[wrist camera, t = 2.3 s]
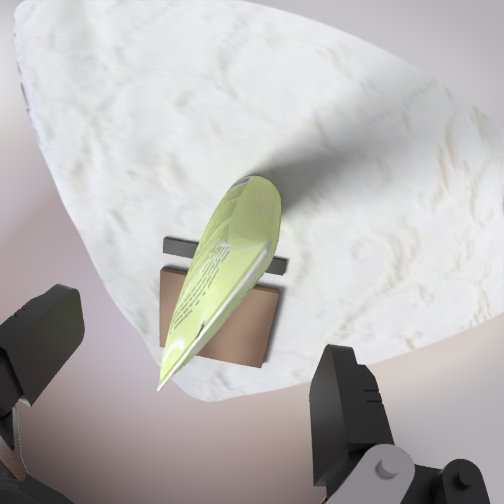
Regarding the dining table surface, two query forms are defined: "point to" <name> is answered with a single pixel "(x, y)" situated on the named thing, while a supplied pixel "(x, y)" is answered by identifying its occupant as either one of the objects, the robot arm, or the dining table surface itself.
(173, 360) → the tube
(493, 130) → the dining table surface
